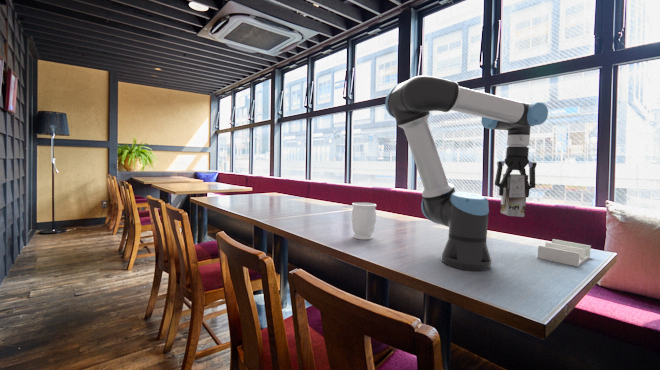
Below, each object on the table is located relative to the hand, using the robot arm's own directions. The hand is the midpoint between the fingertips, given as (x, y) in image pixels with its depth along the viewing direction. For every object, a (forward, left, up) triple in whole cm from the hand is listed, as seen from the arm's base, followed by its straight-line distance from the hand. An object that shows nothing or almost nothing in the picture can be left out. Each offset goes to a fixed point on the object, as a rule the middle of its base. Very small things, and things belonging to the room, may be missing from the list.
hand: (512, 204), depth 128 cm
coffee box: (0, 0, -4) cm, 4 cm away
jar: (-59, -3, -18) cm, 61 cm away
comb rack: (+16, -7, -18) cm, 25 cm away
